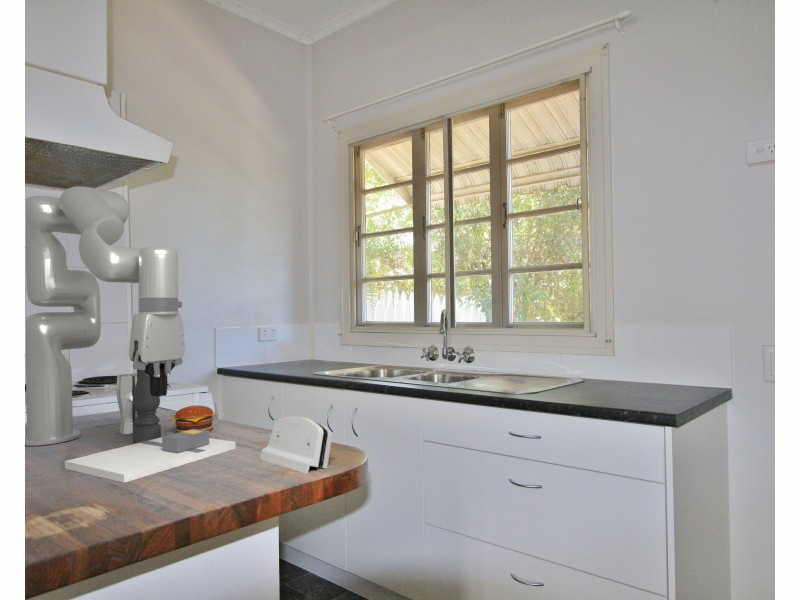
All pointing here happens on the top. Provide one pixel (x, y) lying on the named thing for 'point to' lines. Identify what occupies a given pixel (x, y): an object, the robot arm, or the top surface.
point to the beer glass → (126, 402)
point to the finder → (185, 440)
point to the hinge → (298, 444)
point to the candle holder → (145, 410)
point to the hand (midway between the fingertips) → (158, 395)
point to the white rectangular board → (142, 459)
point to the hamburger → (194, 418)
